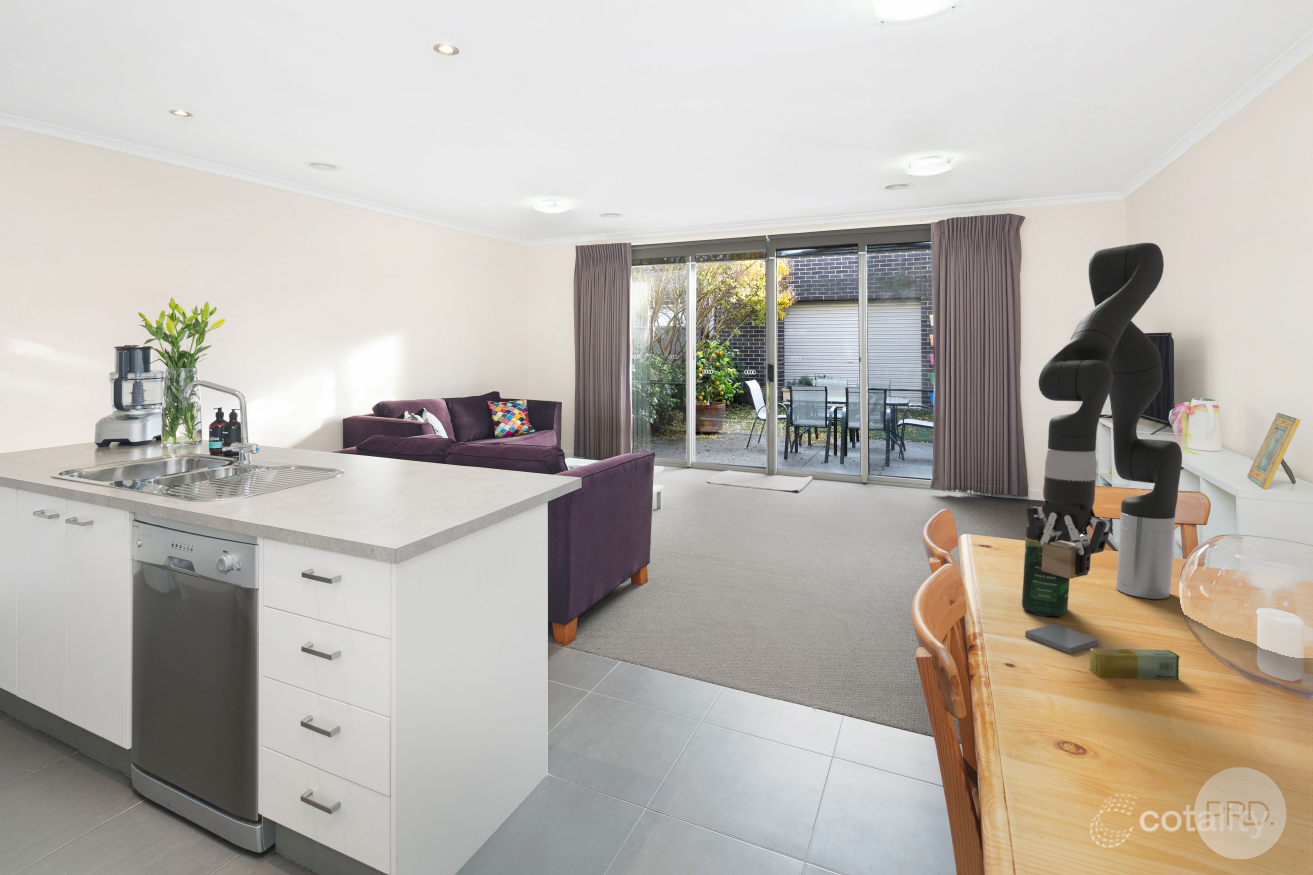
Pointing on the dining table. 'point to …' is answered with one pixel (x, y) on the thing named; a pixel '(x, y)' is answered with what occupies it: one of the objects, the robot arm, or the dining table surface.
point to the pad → (1061, 638)
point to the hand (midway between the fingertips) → (1064, 569)
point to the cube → (1060, 559)
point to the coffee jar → (1043, 581)
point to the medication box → (1134, 663)
